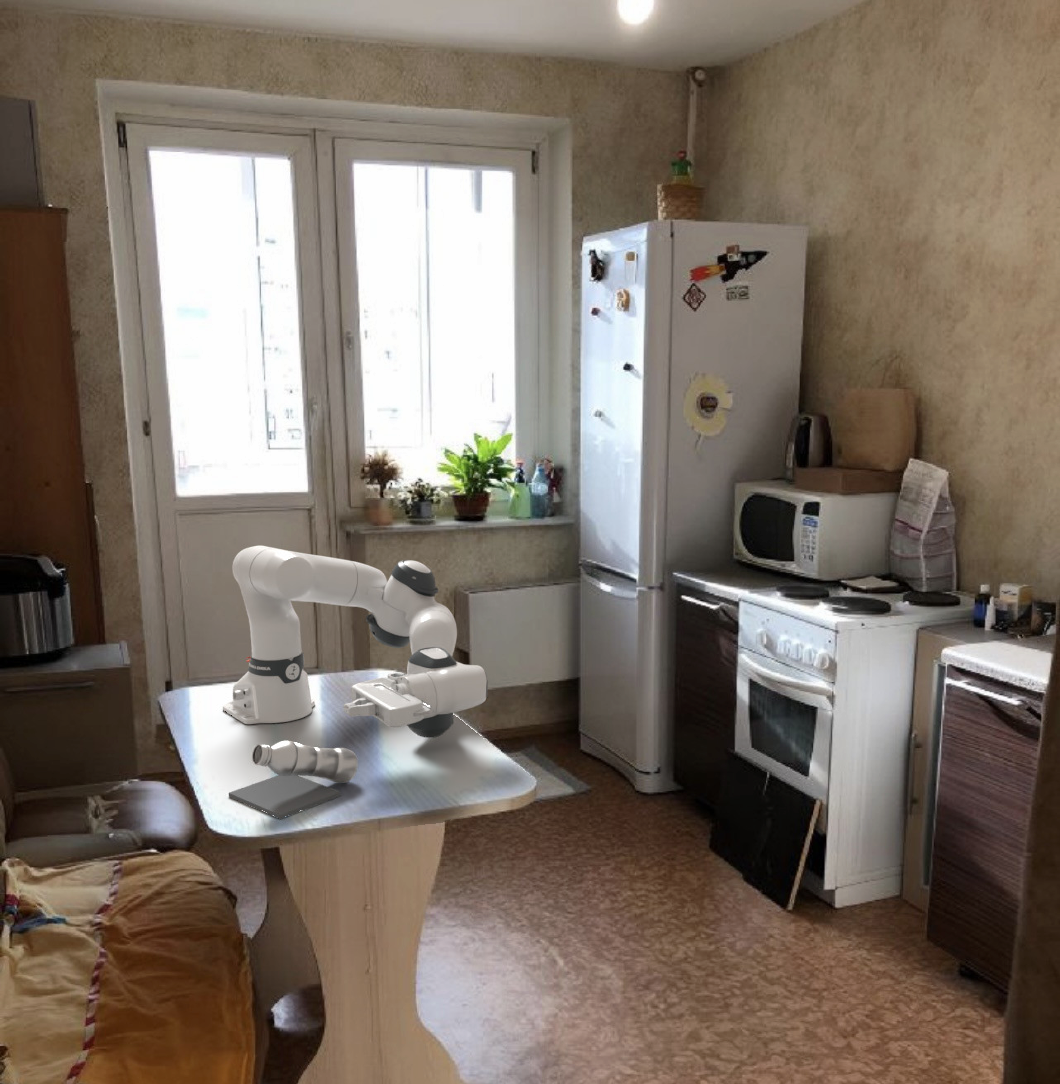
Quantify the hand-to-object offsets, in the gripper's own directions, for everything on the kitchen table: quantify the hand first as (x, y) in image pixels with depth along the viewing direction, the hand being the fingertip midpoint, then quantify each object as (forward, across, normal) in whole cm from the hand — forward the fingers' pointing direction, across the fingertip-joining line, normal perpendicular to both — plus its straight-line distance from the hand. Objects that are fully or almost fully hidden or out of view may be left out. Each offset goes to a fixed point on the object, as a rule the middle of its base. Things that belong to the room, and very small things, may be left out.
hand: (346, 710), depth 184 cm
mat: (+13, 0, -14) cm, 19 cm away
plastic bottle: (-1, 0, -11) cm, 11 cm away
